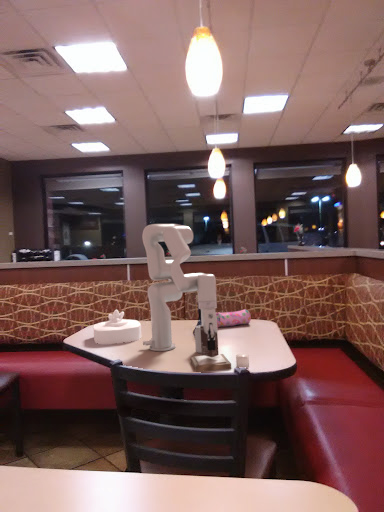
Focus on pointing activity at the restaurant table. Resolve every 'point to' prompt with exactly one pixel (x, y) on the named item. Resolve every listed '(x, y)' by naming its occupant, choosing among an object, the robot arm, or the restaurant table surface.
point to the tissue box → (117, 330)
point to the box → (204, 344)
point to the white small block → (242, 360)
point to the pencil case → (233, 318)
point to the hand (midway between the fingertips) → (209, 347)
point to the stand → (210, 363)
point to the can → (198, 339)
